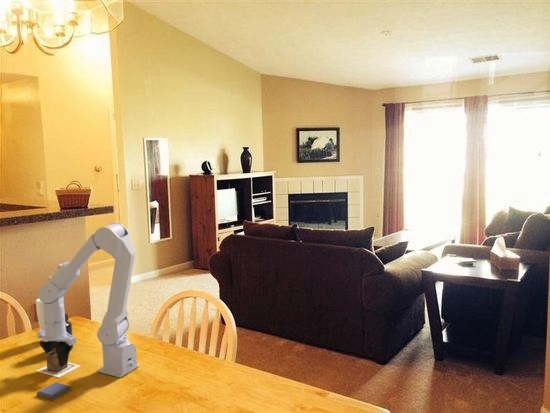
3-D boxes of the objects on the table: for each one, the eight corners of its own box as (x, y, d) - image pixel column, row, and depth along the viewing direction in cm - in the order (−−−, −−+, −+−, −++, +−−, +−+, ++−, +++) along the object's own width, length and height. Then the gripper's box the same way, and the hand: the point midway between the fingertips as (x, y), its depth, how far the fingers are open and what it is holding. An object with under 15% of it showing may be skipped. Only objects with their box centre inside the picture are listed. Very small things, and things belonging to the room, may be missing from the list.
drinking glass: (64, 338, 164) (61, 297, 162) (46, 345, 158) (43, 303, 156) (53, 335, 167) (50, 294, 166) (35, 341, 162) (31, 300, 160)
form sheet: (81, 366, 142) (81, 365, 142) (59, 377, 135) (59, 377, 135) (58, 360, 147) (58, 359, 147) (35, 371, 140) (35, 370, 140)
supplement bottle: (67, 354, 151) (64, 319, 149) (47, 354, 151) (44, 319, 150) (77, 345, 158) (74, 311, 156) (57, 345, 158) (54, 311, 156)
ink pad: (70, 389, 128) (70, 385, 128) (52, 400, 123) (51, 396, 123) (55, 385, 131) (55, 381, 131) (36, 395, 125) (36, 391, 125)
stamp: (67, 367, 142) (66, 347, 141) (57, 372, 138) (55, 352, 137) (58, 364, 143) (56, 345, 142) (47, 370, 140) (45, 350, 139)
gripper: (26, 321, 139) (30, 364, 140) (60, 328, 132) (63, 373, 134) (47, 313, 145) (50, 355, 147) (80, 320, 139) (83, 363, 140)
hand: (58, 363), depth 141 cm, fingers closed on stamp, 4 cm apart
